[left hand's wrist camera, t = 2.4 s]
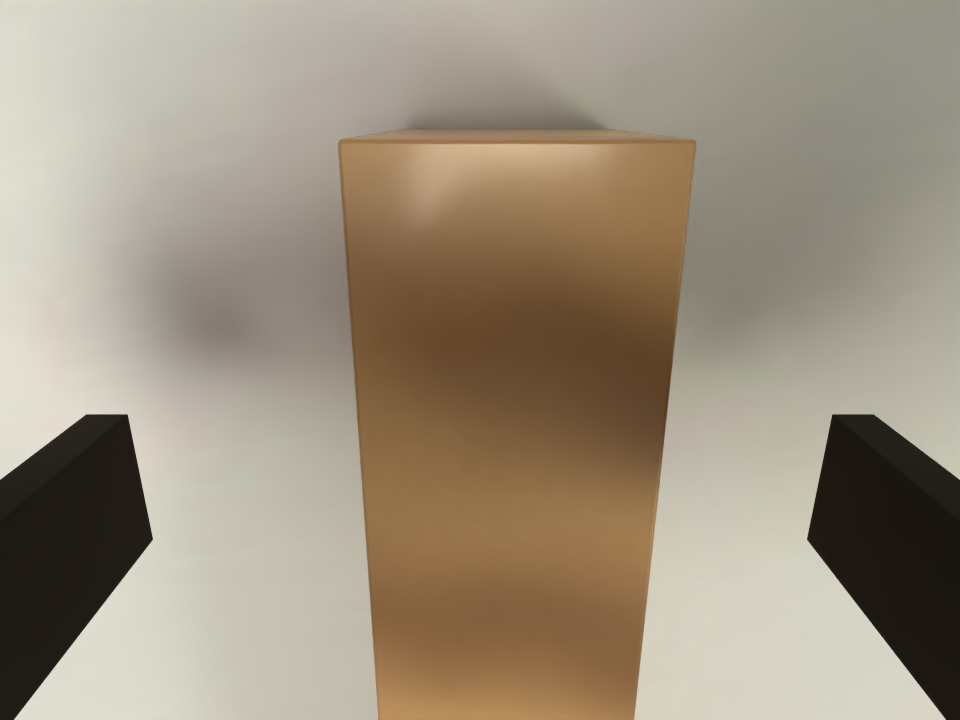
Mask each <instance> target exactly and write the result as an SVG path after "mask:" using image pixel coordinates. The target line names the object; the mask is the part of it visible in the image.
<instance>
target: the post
mask: <svg viewBox="0 0 960 720" xmlns="http://www.w3.org/2000/svg"><path fill="white" fill-rule="evenodd" d="M695 149H696V143H695V141H694V140H692V139H685V138H677V137H668V136H660V135H652V134H644V133H635V132H627V131H619V130H610V129H404V130H398V131H391V132H385V133H378V134H372V135H365V136H359V137H352V138H346V139H341V140H339V142H338V152H339V166H340V180H341V194H342V208H343V222H344V236H345V251H346V265H347V279H348V293H349V307H350V321H351V335H352V349H353V364H354V378H355V392H356V406H357V420H358V434H359V448H360V462H361V477H362V491H363V505H364V519H365V533H366V547H367V561H368V576H369V590H370V604H371V618H372V632H373V646H374V660H375V674H376V689H377V703H378V717H379V720H634V715H635V706H636V696H637V687H638V678H639V669H640V659H641V650H642V641H643V632H644V622H645V613H646V604H647V594H648V585H649V576H650V567H651V557H652V548H653V539H654V530H655V520H656V511H657V502H658V492H659V483H660V474H661V465H662V455H663V446H664V437H665V428H666V418H667V409H668V400H669V390H670V381H671V372H672V363H673V353H674V344H675V335H676V326H677V316H678V307H679V298H680V288H681V279H682V270H683V261H684V251H685V242H686V233H687V224H688V214H689V205H690V196H691V186H692V177H693V168H694V159H695Z"/></svg>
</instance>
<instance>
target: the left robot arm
mask: <svg viewBox="0 0 960 720" xmlns="http://www.w3.org/2000/svg"><path fill="white" fill-rule="evenodd" d="M152 540H153V537H152V533H151V528H150V523H149V518H148V513H147V508H146V503H145V498H144V493H143V488H142V483H141V478H140V473H139V468H138V464H137V459H136V454H135V449H134V444H133V439H132V434H131V429H130V424H129V419H128V415H85V416H84V417H82V418H81V419H80V420H79V421H77V422H76V423H75V424H73V425H72V426H71V427H69V428H68V429H67V430H65V431H64V432H63V433H61V434H60V435H59V436H57V437H56V438H55V439H53V440H52V441H51V442H50V443H48V444H47V445H46V446H44V447H43V448H42V449H40V450H39V451H38V452H36V453H35V454H34V455H32V456H31V457H30V458H28V459H27V460H26V461H25V462H23V463H22V464H21V465H19V466H18V467H17V468H15V469H14V470H13V471H11V472H10V473H9V474H7V475H6V476H5V477H3V478H2V479H1V480H0V720H14V719H15V718H16V716H17V715H18V714H19V712H20V711H21V710H22V708H23V707H24V706H25V705H26V703H27V702H28V701H29V699H30V698H31V697H32V695H33V694H34V693H35V692H36V690H37V689H38V688H39V686H40V685H41V684H42V683H43V681H44V680H45V679H46V677H47V676H48V675H49V673H50V672H51V671H52V670H53V668H54V667H55V666H56V664H57V663H58V662H59V661H60V659H61V658H62V657H63V655H64V654H65V653H66V651H67V650H68V649H69V648H70V646H71V645H72V644H73V642H74V641H75V640H76V638H77V637H78V636H79V635H80V633H81V632H82V631H83V629H84V628H85V627H86V626H87V624H88V623H89V622H90V620H91V619H92V618H93V616H94V615H95V614H96V613H97V611H98V610H99V609H100V607H101V606H102V605H103V604H104V602H105V601H106V600H107V598H108V597H109V596H110V594H111V593H112V592H113V591H114V589H115V588H116V587H117V585H118V584H119V583H120V581H121V580H122V579H123V578H124V576H125V575H126V574H127V572H128V571H129V570H130V569H131V567H132V566H133V565H134V563H135V562H136V561H137V559H138V558H139V557H140V556H141V554H142V553H143V552H144V550H145V549H146V548H147V547H148V545H149V544H150V543H151V541H152ZM807 540H808V541H809V543H810V544H811V545H812V547H813V548H814V549H815V550H816V552H817V553H818V554H819V556H820V557H821V558H822V559H823V561H824V562H825V563H826V565H827V566H828V567H829V569H830V570H831V571H832V572H833V574H834V575H835V576H836V578H837V579H838V580H839V581H840V583H841V584H842V585H843V587H844V588H845V589H846V591H847V592H848V593H849V594H850V596H851V597H852V598H853V600H854V601H855V602H856V604H857V605H858V606H859V607H860V609H861V610H862V611H863V613H864V614H865V615H866V616H867V618H868V619H869V620H870V622H871V623H872V624H873V626H874V627H875V628H876V629H877V631H878V632H879V633H880V635H881V636H882V637H883V638H884V640H885V641H886V642H887V644H888V645H889V646H890V648H891V649H892V650H893V651H894V653H895V654H896V655H897V657H898V658H899V659H900V661H901V662H902V663H903V664H904V666H905V667H906V668H907V670H908V671H909V672H910V673H911V675H912V676H913V677H914V679H915V680H916V681H917V683H918V684H919V685H920V686H921V688H922V689H923V690H924V692H925V693H926V694H927V695H928V697H929V698H930V699H931V701H932V702H933V703H934V705H935V706H936V707H937V708H938V710H939V711H940V712H941V714H942V715H943V716H944V718H945V719H946V720H960V480H959V479H958V478H957V477H955V476H954V475H953V474H951V473H950V472H949V471H947V470H946V469H945V468H943V467H942V466H941V465H939V464H938V463H937V462H935V461H934V460H933V459H932V458H930V457H929V456H928V455H926V454H925V453H924V452H922V451H921V450H920V449H918V448H917V447H916V446H914V445H913V444H912V443H910V442H909V441H908V440H907V439H905V438H904V437H903V436H901V435H900V434H899V433H897V432H896V431H895V430H893V429H892V428H891V427H889V426H888V425H887V424H885V423H884V422H883V421H881V420H880V419H879V418H878V417H876V416H875V415H832V419H831V424H830V429H829V434H828V439H827V444H826V449H825V454H824V459H823V464H822V468H821V473H820V478H819V483H818V488H817V493H816V498H815V503H814V508H813V513H812V518H811V523H810V528H809V532H808V537H807Z"/></svg>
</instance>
